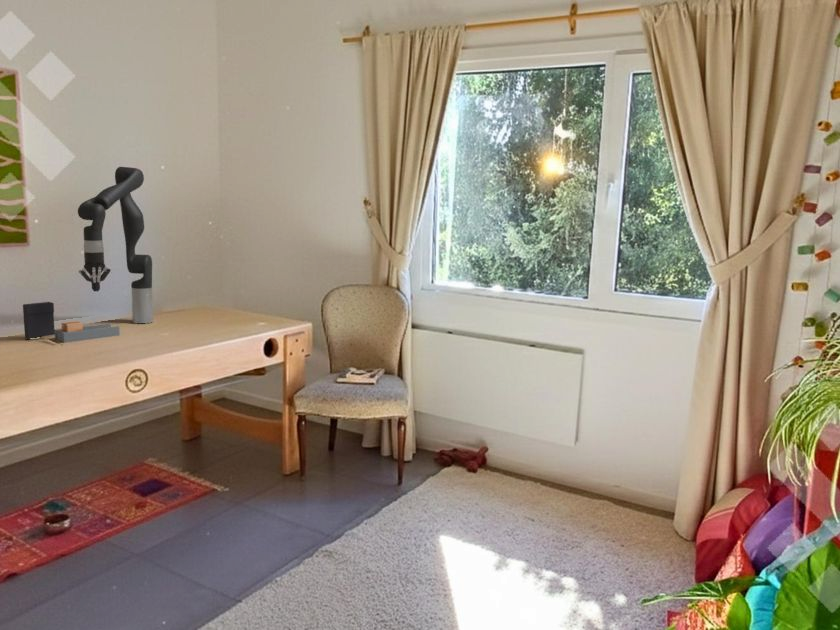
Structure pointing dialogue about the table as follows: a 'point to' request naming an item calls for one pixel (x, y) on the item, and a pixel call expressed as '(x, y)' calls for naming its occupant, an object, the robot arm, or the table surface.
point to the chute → (87, 333)
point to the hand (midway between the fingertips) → (96, 291)
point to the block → (72, 326)
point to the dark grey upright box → (38, 319)
